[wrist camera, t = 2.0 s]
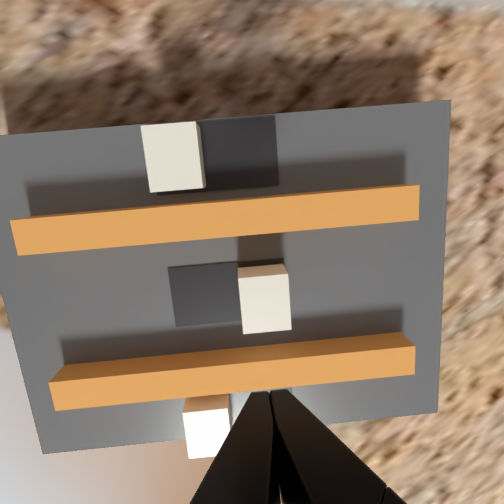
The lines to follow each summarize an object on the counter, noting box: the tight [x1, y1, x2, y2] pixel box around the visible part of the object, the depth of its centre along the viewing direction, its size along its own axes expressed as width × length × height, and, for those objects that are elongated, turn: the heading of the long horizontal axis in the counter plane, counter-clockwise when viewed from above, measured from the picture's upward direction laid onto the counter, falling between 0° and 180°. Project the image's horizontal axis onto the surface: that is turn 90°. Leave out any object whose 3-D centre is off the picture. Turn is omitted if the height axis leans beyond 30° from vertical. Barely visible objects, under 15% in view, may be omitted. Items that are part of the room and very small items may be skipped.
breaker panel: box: [0, 100, 451, 459], centre depth 16 cm, size 20×15×5 cm
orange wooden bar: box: [49, 332, 415, 411], centre depth 16 cm, size 16×1×1 cm, turn 95°
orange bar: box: [10, 184, 420, 256], centre depth 14 cm, size 16×1×1 cm, turn 95°
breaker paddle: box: [238, 264, 292, 334], centre depth 15 cm, size 2×2×2 cm
